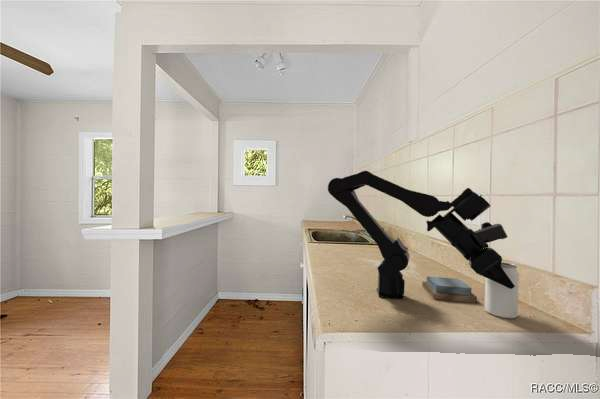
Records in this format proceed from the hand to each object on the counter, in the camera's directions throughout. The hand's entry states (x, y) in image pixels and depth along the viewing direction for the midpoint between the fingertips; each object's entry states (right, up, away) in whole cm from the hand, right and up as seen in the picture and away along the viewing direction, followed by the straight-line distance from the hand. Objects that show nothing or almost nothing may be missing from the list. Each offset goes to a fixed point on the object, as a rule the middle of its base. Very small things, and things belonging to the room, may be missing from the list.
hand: (507, 282), depth 66 cm
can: (-1, -8, +1) cm, 8 cm away
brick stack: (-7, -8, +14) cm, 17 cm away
